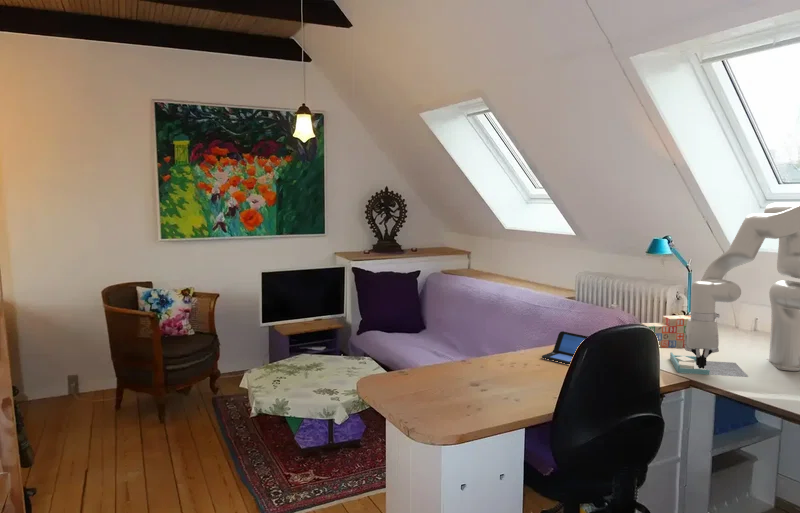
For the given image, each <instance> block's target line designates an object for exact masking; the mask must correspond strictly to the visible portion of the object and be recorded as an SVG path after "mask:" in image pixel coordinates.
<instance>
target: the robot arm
mask: <svg viewBox="0 0 800 513" xmlns="http://www.w3.org/2000/svg"><path fill="white" fill-rule="evenodd" d="M763 211H764V212H762V213H760V212H759V213H756V212H755V213H751V214H748V215H747V216H746V217H745V218H744V220H743V221H742V223H741V225H740V227H739V229H738V231H737V233H736V234H735V237H734V238H733V240H732V242H731V245H730V246H729V248H728V249H727V250H726V251H725V252H723V253H722V254H721V255H719V256H718V257H717V258H716V259H714V261H712V262H711V263H710V264H709V266H708V267H707V268H706V270H705V272H704V273H703V276H702V278H701V279H700V280H697V281H696V280H695V281H694V282H692V284H691V290H690V291H691V293H690V294H691V295H690V316H691V319H688V321H687V326H686V334H685V344H686V345H685V347H684V350H685V351H687V352H691V353H693V355H695V356H696V361H695V365H696V366H697V368H698V369H705V368H704V366H706V361H707V358H708V357H709V356H710V355H712V354H714V353H718V352H719V351H720V350H719V344H720V343H719V342H720V340H719V327H718V323H717V320H716V319H719V318H720V313H716V303H733V302H736V301H737V300H739V298H740V297H741V295H742V289H741V286H740V285H739V284H738V283H736V282H734V281H731V280H727V279H723V278H724V277H725V276H726V275H727V273H729V272H730V271H732V270H733V269H735V268H737V267H740V266H743V265H744V264H745V265H746V264H748V263H751V262H752V261H754V260H755V258H756V256H757V254H758V252H759V250H760V249H761V247H762V245H763V243H764V241H765V239H774V240H776V239H777V240H778V249H777V250H778V251H777V259H776V270H777V272H778V274H780V275H781V276H784V277H788V278H792V279H798V280H799V279H800V202H773V203H770V204H768V205H766V207H765V208H764V210H763ZM768 294H769V301H770V308H771V310H770V311H771V313H770V314H771V320H770V336H769V352H768V353H769V356H768V358H767V359H766V360H767V362H769V363H770V364H771V365H772V366H773V367H774V368H775V369H776V370H780V371H786V372H787V371H790V372H797V371H798V372H799V371H800V281H794V280H793V281H792V280H786V279H785V280H784V279H783V280H782V279H781V280H778V281H776V282H773V283H772V284H771V286H770V288H769V291H768ZM700 350H702V353H701V351H700Z"/></svg>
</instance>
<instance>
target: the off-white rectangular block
mask: <svg viewBox="0 0 800 513" xmlns="http://www.w3.org/2000/svg"><path fill="white" fill-rule="evenodd" d="M679 365H680V368H689V369H695V362H694V363H692V362H683V361H679Z"/></svg>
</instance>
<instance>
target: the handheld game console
mask: <svg viewBox="0 0 800 513" xmlns="http://www.w3.org/2000/svg"><path fill="white" fill-rule="evenodd" d="M587 337H589V336H588V335H582V334H577V333H573V332H568V331H559V333H558V335H557V338H556V341H555V344H554V347H553V350H552V352H548V353H546V354H543V355H542V356H541V358H546V359H549V360H554V361H558V362H562V363H565V364H570V362H571V359H572V357H573V355H574V353H575V351H576V349H577V347H578V346H579V345H580V343H581V342H582V341H583V340H584V339H586V338H587ZM565 364H564V365H565Z"/></svg>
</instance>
